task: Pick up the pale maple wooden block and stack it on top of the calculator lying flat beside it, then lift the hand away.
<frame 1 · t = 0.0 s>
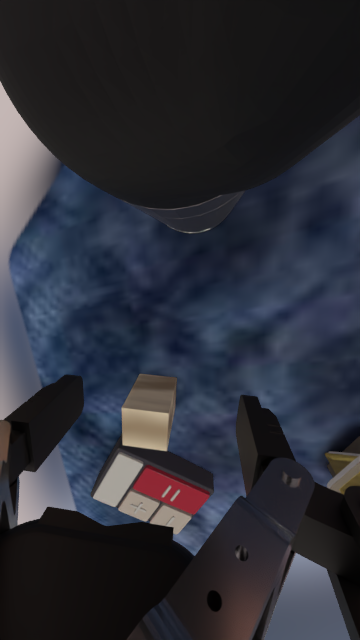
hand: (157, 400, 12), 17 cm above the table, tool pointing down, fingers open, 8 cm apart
maple block: (157, 391, 32), on the table
olive plastic tub: (339, 441, 32), on the table
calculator: (154, 471, 37), on the table
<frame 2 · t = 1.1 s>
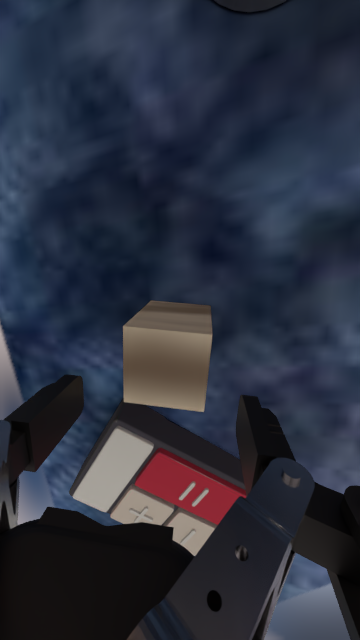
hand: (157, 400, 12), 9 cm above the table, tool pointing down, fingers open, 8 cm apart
maple block: (178, 331, 20), on the table
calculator: (165, 461, 25), on the table
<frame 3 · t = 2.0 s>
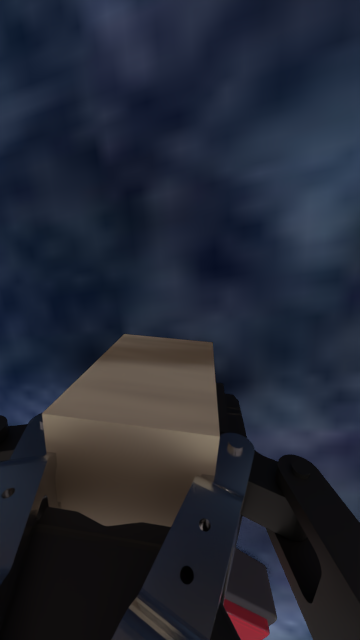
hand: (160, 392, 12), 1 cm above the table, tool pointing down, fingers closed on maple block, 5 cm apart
maple block: (165, 378, 14), on the table, touching gripper
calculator: (146, 547, 19), on the table
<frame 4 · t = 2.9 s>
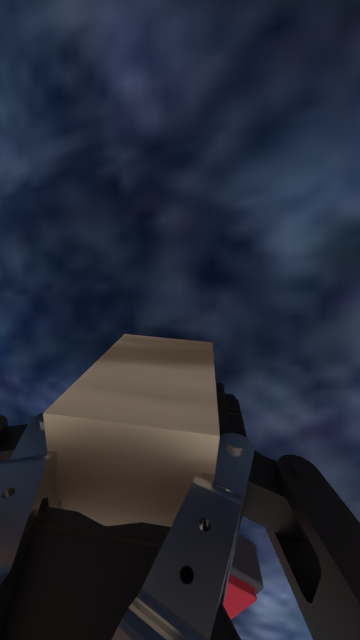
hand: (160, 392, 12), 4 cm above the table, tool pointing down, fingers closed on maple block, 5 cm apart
maple block: (165, 377, 14), point 2 cm above the table, touching gripper
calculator: (148, 528, 21), on the table
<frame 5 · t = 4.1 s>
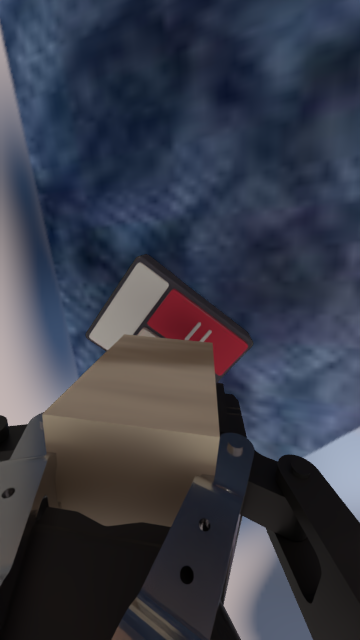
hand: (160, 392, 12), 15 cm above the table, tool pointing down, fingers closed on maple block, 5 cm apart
maple block: (165, 378, 14), point 14 cm above the table, touching gripper
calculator: (171, 328, 29), on the table
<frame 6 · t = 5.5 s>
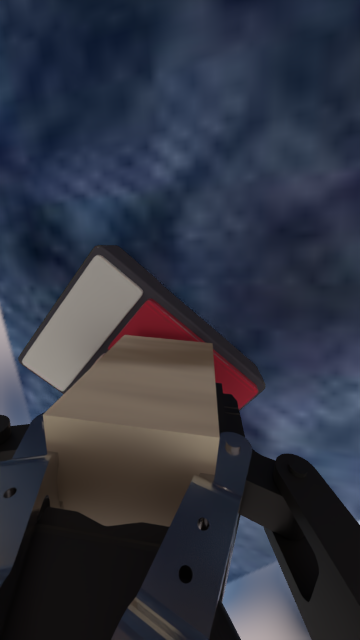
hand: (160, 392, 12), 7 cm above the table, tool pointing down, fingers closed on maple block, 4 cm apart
maple block: (165, 378, 14), point 5 cm above the table, touching gripper
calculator: (149, 353, 20), on the table
when the fingers open (7 cm above the table, at t = 5.9 s): maple block drops 2 cm, resting on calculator.
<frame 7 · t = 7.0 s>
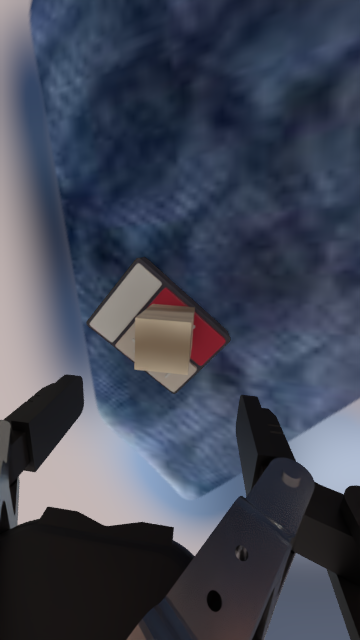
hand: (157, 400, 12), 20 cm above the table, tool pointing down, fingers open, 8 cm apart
maple block: (172, 326, 28), point 4 cm above the table, touching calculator
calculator: (162, 323, 33), on the table, touching maple block
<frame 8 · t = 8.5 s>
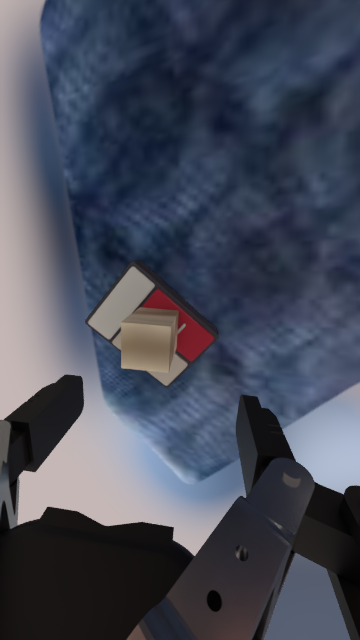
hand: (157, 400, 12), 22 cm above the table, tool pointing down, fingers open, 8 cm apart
maple block: (158, 327, 30), point 4 cm above the table, touching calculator
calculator: (156, 322, 35), on the table, touching maple block
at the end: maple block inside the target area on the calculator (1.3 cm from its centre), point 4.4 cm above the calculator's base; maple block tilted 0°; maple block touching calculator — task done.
